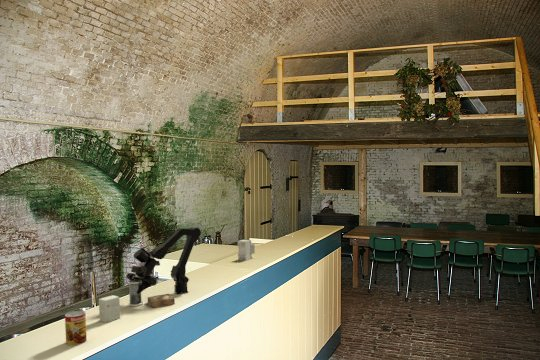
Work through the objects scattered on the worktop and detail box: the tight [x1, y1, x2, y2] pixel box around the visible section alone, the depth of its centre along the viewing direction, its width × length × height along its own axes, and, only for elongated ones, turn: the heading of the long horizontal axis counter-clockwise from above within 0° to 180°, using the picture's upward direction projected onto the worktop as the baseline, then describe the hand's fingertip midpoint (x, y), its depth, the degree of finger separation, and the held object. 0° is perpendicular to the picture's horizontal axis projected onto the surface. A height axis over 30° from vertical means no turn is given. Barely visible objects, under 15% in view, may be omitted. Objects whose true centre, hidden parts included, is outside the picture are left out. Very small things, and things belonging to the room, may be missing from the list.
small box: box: [98, 294, 121, 323], centre depth 213 cm, size 8×6×10 cm
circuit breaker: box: [237, 239, 256, 262], centre depth 355 cm, size 8×14×15 cm, turn 148°
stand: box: [147, 293, 176, 309], centre depth 237 cm, size 12×12×3 cm
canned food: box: [64, 310, 88, 347], centre depth 185 cm, size 8×8×12 cm
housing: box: [128, 280, 144, 308], centre depth 237 cm, size 7×7×12 cm
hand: (133, 292), depth 236 cm, fingers closed on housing, 6 cm apart
